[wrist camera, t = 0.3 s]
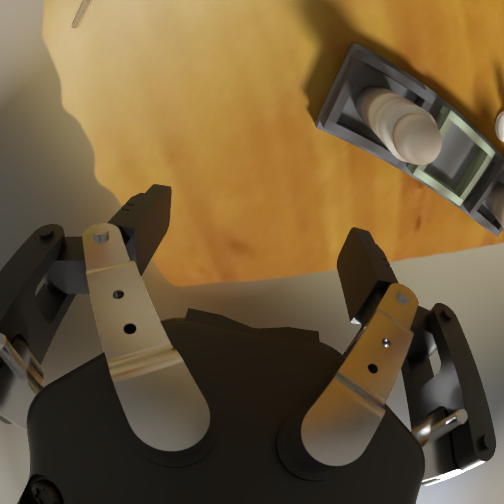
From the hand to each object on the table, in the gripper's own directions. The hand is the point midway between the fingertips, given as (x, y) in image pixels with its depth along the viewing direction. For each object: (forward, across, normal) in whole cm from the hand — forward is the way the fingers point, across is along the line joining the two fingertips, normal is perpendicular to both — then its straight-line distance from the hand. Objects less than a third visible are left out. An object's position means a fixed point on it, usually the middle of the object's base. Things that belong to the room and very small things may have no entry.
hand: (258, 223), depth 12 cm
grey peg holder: (+21, -23, -6) cm, 32 cm away
